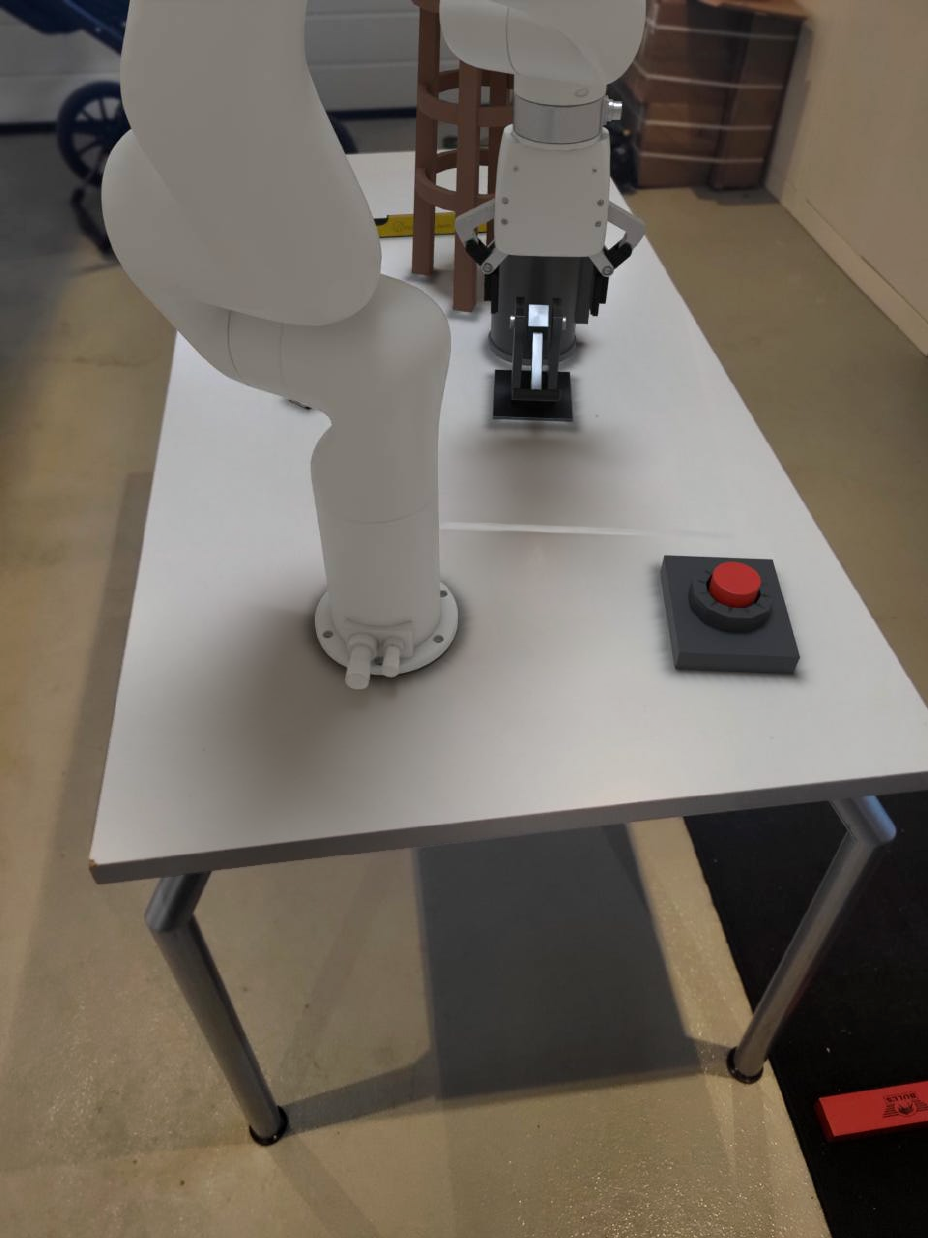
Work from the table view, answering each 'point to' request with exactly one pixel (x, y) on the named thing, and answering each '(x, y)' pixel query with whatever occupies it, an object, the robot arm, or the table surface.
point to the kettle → (541, 300)
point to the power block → (726, 620)
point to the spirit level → (404, 224)
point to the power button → (734, 584)
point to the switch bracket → (522, 378)
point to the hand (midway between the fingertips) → (543, 308)
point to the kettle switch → (537, 356)
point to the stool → (463, 158)
